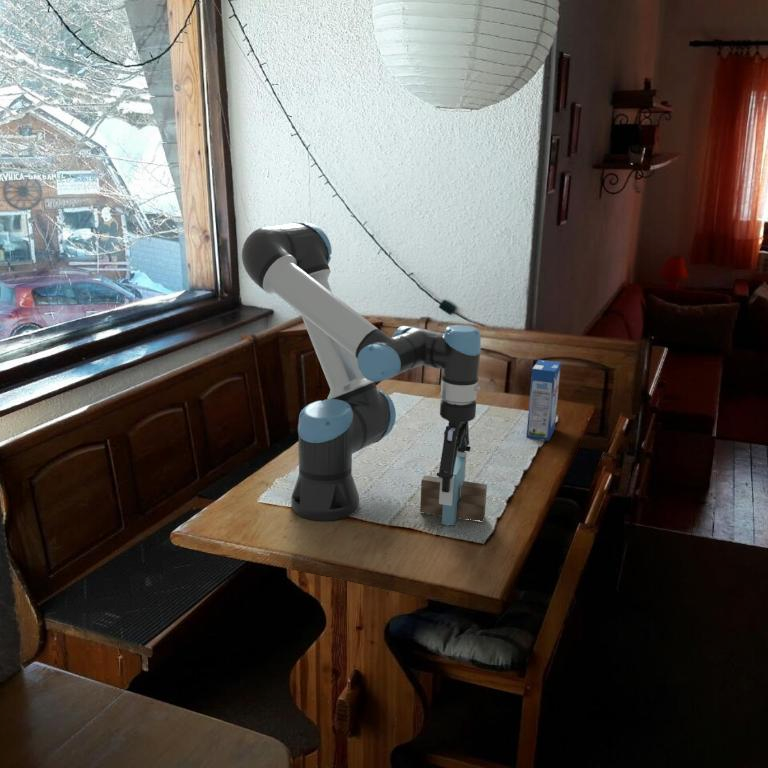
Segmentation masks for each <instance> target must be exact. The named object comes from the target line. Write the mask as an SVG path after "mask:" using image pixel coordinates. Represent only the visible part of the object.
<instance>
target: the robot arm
mask: <svg viewBox="0 0 768 768" xmlns="http://www.w3.org/2000/svg"><path fill="white" fill-rule="evenodd" d="M331 255H332V244H331V242H330V239H329V237H328V236H327V234H326V233H325V231H324V230H323V229H322V228H321V227H319V226H318V225H315V224H314V223H310V222H292V223H287V224H281V225H280V224H279V225H278V224H277V225H272V226H271V225H269V226H262V227H260V228H257V229H255V230H254V231H252V232H251V233H250V234H249V235H248V236H247V237H246V239H245V240H244V243H243V245H242V248H241V260H242V261H241V262H242V265H243V267H244V270H245V272H246V273H247V275H248V277H250V280H252V281H253V283H255V284H256V285H257V286H258V287H259V288H260V289H262V290H263V291H264V292H265V293H267V294H270V295H271V294H272V295H273V294H275V295H277V296H278V297H279V298H280V299H282V301H285V303H287V304H288V305H289V306H291V308H293V309H294V310H295V311H297V312H298V313H299V314H300V315H301V318H302V320H303V322H304V326H305V328H306V331H307V333H308V335H309V338H310V340H311V341H310V342H311V344H312V347H313V348H314V351H315V354H316V356H317V358H318V361H319V363H320V366H321V369H322V371H323V374H324V377H325V379H326V381H327V384H328V387H329V389H330V390H329V394H328V396H327V399H324V400H320V399H319V400H316V401H314V402H311V403H309V404H307V405H306V406H304V407H303V409H301V410H300V413H299V416H298V425H297V433H298V435H297V436H298V441H297V442H298V476H297V479H296V482H295V484H294V488H293V491H292V492H291V493H292V494H291V497H290V498H291V500H290V501H291V502H290V503H291V510H292V511H293V512H294V513H295V515H297V516H298V517H299V516H300V517H302V518H303V519H304V518H305V519H308V520H312V521H327V522H328V521H336V520H341V519H344V518H345V519H346V518H348V517H350V516H351V515H350V514H352V513H354V512H355V511H356V510H357V509H358V510H359V508H360V507H359V506H360V496H359V492H358V489H357V485H356V483H355V479H354V477H353V473H352V471H353V470H352V466H353V463H352V461H353V460H352V459H353V457H352V456H353V454H355V453H356V452H360V451H361V450H362V449H364V448H367V447H369V446H371V445H372V444H376V443H379V442H380V441H381V440H382V439H383V438H385V437H386V436H387V435H389V434H390V433H391V431H393V428H394V425H395V423H396V420H397V419H396V417H397V416H396V415H397V414H396V408H395V404H394V401H393V400H392V398H391V397H390V395H389V394H388V393H385V391H384V390H382V389H378V388H377V386H376V383H377V382H378V383H379V382H382V381H386V380H390V379H391V380H392V379H393V378H395V377H396V376H398V375H400V374H402V373H405V372H407V371H410V370H412V369H415V368H418V367H421V366H426V367H430V368H435V369H441V372H442V373H441V384H440V385H441V386H440V398H441V399H440V404H439V406H440V407H439V416H440V417H441V418H442V419H443V420H446V421H447V422H448V425H446V427H445V430H444V433H443V434H444V435H443V436H444V437H443V443H442V451H441V458H440V464H439V471H438V472H436V477H439V478H440V494H439V504H443V505H449V506H452V499H453V485H454V476H453V472H454V467H455V462H456V456H458V457H465V471H466V469H467V467H466V466H467V455H468V453H467V452H469V453H470V452H471V446H469V444H470V432H469V430H470V429H469V422H470V421H473V420H474V419H475V418H476V414H477V413H476V412H477V402H476V399H477V394H478V392H480V391H481V387H480V386H479V385H478V382H479V368H480V367H479V366H480V358H481V352H482V348H481V343H482V342H481V338H482V337H481V331H480V330H479V329H478V328H476V327H474V326H471V325H466V324H465V325H462V324H453V325H450V326H449V325H448V326H447V327H446V328H445V329H444V332H439V331H435V330H430V329H425V328H420V327H417V326H407V325H402V326H401V325H400V326H399V327H398V328H397V329H396V330H395V331H394V333H393V334H392V336H391V337H390V336H389V335H388V334H386V333H385V332H383V331H382V330H380V329H379V328H378V327H376V326H375V324H373V323H371V322H370V321H369V320H368V319H367V318H365V317H364V316H363V315H361V314H360V313H359V312H357V311H356V310H355V309H354V308H353V307H351V306H350V305H348V304H347V303H346V302H345V301H343V300H342V299H341V298H339V297H338V296H337V295H335V294H334V293H333V292H332V289H331V286H330V283H329V281H328V279H329V277H330V275H331V274H330V273H331V269H330V266H329V263H330V262H331V258H332V257H331ZM465 479H466V472H465V473H464V481H465ZM358 507H359V508H358ZM358 510H357V511H358ZM357 511H356V512H357ZM356 512H355V513H356ZM355 513H354V514H355ZM349 515H350V516H349ZM352 515H353V514H352Z"/></svg>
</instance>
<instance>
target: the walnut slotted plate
mask: <svg viewBox="0 0 768 768" xmlns="http://www.w3.org/2000/svg"><path fill="white" fill-rule="evenodd" d="M420 482H421V484H420V485H421V487H420V504H419V505H420V506H419V510H420V511H419V513H420V512H424V513H430V514H435V515H434V516H437V515H441V516H440V517H442V511H443V504H439V494H440V477H438V476H431V475H423V477H422V478H421V481H420ZM487 491H488V484H486V483H480V482H473V481H465V480H464V481H463V483H462V485H461V497H460V498H459V500H458V503H457V515H456V518H461V519H460V520H462V519H469V520H470V519H471V520H480V521H483V519H484V520H485V518H484V517H486V502H487ZM424 513H423V514H424ZM430 514H429V515H430ZM483 522H484V521H483Z"/></svg>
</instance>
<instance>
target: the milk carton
mask: <svg viewBox="0 0 768 768" xmlns="http://www.w3.org/2000/svg"><path fill="white" fill-rule="evenodd" d="M561 366H562V362H561V361H554V360H553V361H552V360H543V359H538V360H537V361H536V363H535V364H534V366H533V367H532V368H531V379H530V392H529V402H528V415H527V426H526V438H528V439H534V438H536V439H535V440H540V439H544V440H543V441H548V442H549V441H550V439H551V437H552V435H553V433H554V431H555V430H556V418H557V409H558V408H557V407H558V400H559V387H560V378H561Z"/></svg>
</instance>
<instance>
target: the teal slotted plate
mask: <svg viewBox="0 0 768 768" xmlns="http://www.w3.org/2000/svg"><path fill="white" fill-rule="evenodd" d="M464 473H465V474H466V470H465V457H458V456H456V462H455V467H454V472H453V476H454V485H453V499H452V506H449V505H443V511H442V516H441V524H442V523H443V524H449V525H455V523H456V521H457V519H456V515H457V503H458V500H459V498H460V497H461V485H462V483H463V481H465V480H464ZM455 520H456V521H455Z"/></svg>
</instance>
